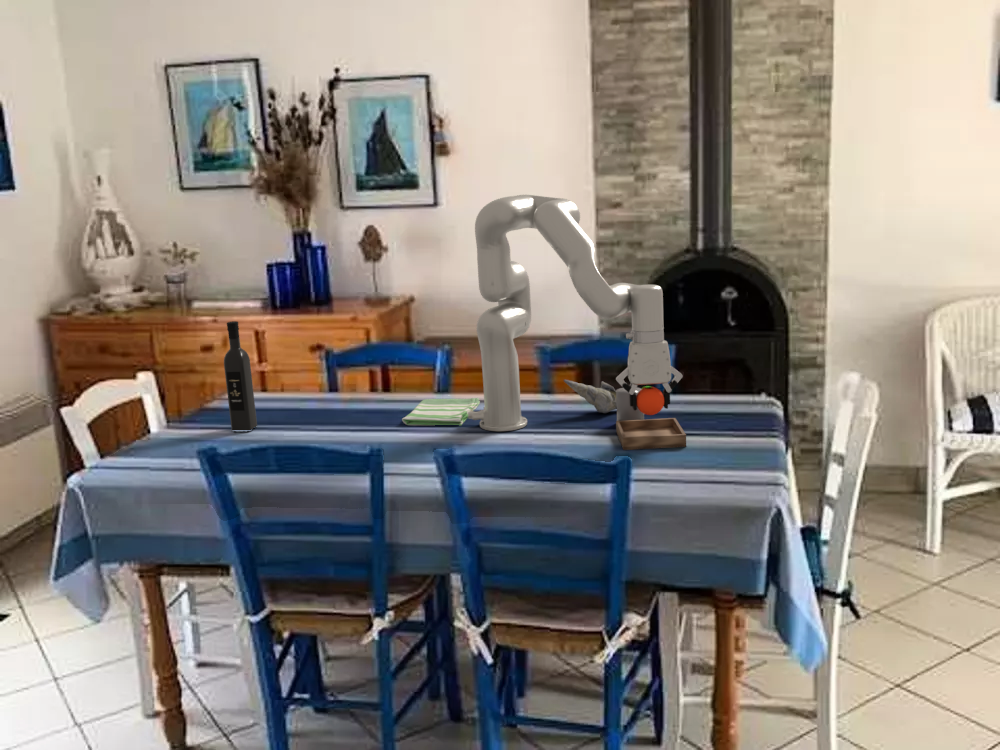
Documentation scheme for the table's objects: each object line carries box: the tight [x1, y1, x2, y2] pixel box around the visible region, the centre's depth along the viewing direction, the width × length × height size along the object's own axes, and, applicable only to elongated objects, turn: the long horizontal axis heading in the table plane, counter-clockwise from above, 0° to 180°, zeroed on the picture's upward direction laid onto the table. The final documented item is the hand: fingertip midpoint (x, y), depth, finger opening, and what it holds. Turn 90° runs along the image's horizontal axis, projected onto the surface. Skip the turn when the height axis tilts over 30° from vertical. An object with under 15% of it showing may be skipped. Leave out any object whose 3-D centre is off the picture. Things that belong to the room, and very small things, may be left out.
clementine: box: [636, 385, 665, 416], centre depth 250 cm, size 8×7×7 cm
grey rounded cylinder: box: [615, 387, 645, 421], centre depth 265 cm, size 7×7×9 cm
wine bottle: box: [223, 320, 258, 431], centre depth 278 cm, size 6×6×30 cm
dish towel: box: [401, 397, 481, 427], centre depth 286 cm, size 18×23×3 cm
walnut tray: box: [615, 417, 687, 451], centre depth 252 cm, size 15×15×3 cm
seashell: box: [563, 379, 617, 414], centre depth 279 cm, size 10×17×10 cm, turn 81°
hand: (650, 407), depth 250 cm, fingers closed on clementine, 7 cm apart
